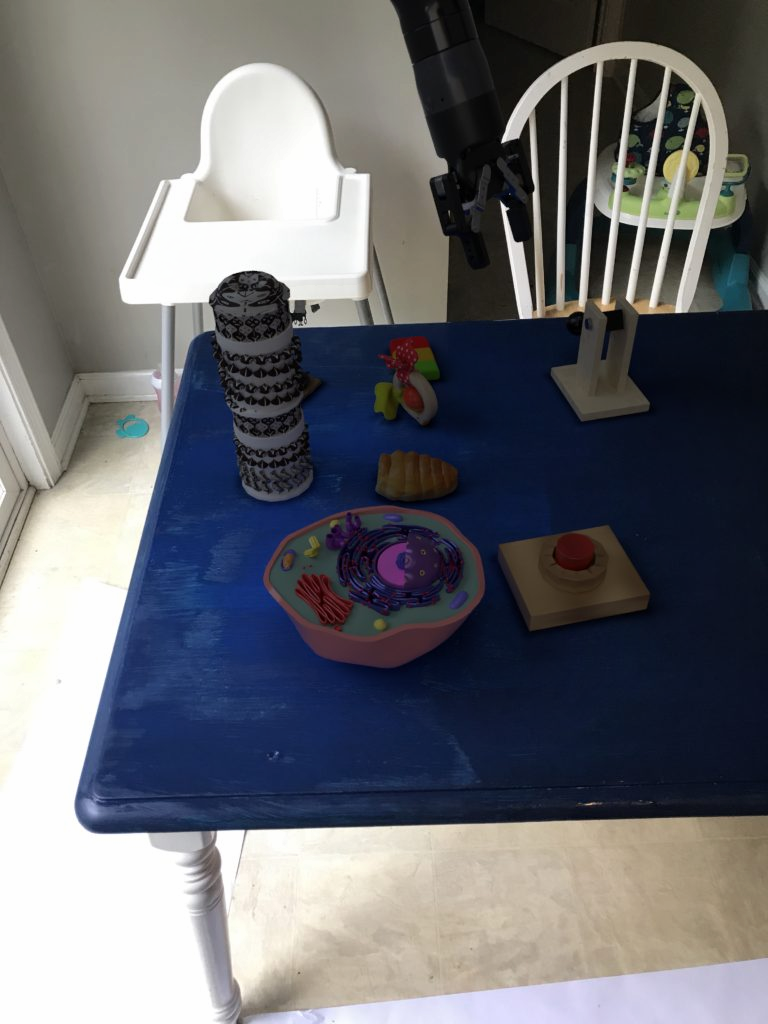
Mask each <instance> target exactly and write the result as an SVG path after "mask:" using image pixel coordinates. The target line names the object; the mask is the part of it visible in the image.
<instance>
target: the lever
mask: <svg viewBox="0 0 768 1024" xmlns="http://www.w3.org/2000/svg"><path fill="white" fill-rule="evenodd" d="M602 312H603V313H604V315H605V316H606V317H607V323H606V330H605V333H607V332H611V331H615V330H622V329H624V325H623V311H622V309H619V310H614V309H612V310H604V311H602ZM583 318H584V311H580V310H576V311H574V312H571V313H570V314H569V315H568V316H567V319H566V322H565V328H566V329H567V331H568V333H569V334H570V335H573V336H577V337H579V336H580V337H581V332H582V325H583Z"/></svg>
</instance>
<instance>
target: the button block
mask: <svg viewBox="0 0 768 1024" xmlns="http://www.w3.org/2000/svg"><path fill="white" fill-rule="evenodd" d="M570 533H576V534H581V535H584V536H586V537H588V538H589V539H590V540H591V541H592V542H593V544H594V547H595V550H594V555H593V561H592V564H591V565H590V567H588V568H587V569H585V570H582V571H572V570H567V569H564V568H562V567H561V566H560V565H559V564H558V563H557V561H556V559H555V553H556V547H557V542H558V540H559V539H560V538H561V537H562V536H563V535H566V534H570ZM497 549H498V551H497V561H498V563H499V566H500V568H501V570H502V572H503V575H504V577H505V579H506V582H507V584H508V587H509V589H510V590H511V593H512V595H513V597H514V600H515V602H516V604H517V606H518V610H519V611H520V613H521V615H522V618H523V620H524V622H525V625H526V628H527V629H528V631H529V632H534V631H538V630H545V629H549V628H555V627H561V626H565V625H569V624H575V623H580V622H586V621H591V620H597V619H602V618H607V617H611V616H616V615H617V616H618V615H621V614H626V613H632V612H637V611H643V610H647V608H648V604H649V600H650V597H651V593H650V591H649V590H648V588H647V586H646V584H645V583H644V581H643V579H642V577H641V576H640V574H639V573H638V571H637V569H636V568H635V566H634V564H633V563H632V561H631V559H630V558H629V556H628V555H627V553H626V551H625V550H624V547H623V546H622V544H621V543H620V542H619V539H618V538H617V536H616V535H615V533H614V532H613V530H612V528H611V527H610V525H609V524H606V525H602V526H595V527H590V528H584V529H578V530H572V531H567V532H562V533H557V534H551V535H550V534H549V535H545V536H537V537H534V538H527V539H522V540H516V541H511V542H510V541H509V542H505V543H500V544H499V543H498V548H497Z"/></svg>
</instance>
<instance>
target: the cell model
mask: <svg viewBox="0 0 768 1024" xmlns="http://www.w3.org/2000/svg"><path fill="white" fill-rule="evenodd" d="M262 577H263V578H262V580H263V584H264V587H265V588H266V590H267V592H268V593H269V595H271V597H272V598H273V599H274V600H275V601H276V603H278V605H279V606H280V607H281V608H282V609H283V611H284V612H285V614H286V615H287V617H288V618H289V619H290V621H291V622H292V624H293V625H294V628H295V629H296V630H297V632H298V634H299V636H300V638H301V639H302V641H303V642H304V644H305V645H306V646H308V647H309V648H310V650H312V651H313V653H314V654H316V656H319V657H320V658H323V659H326V660H330V661H333V662H338V663H344V664H351V665H357V666H358V665H359V666H365V667H370V668H371V667H372V668H378V669H393V668H399V667H401V666H404V665H406V664H408V663H411V662H412V661H414V660H415V659H418V658H419V657H422V656H424V655H425V654H428V653H430V652H431V651H433V650H435V649H436V648H438V647H439V646H441V645H442V644H443V643H445V642H446V641H447V640H448V639H449V638H451V636H453V634H455V633H456V632H457V630H458V629H459V628H460V627H461V626H462V625H463V624H464V623H465V622H466V620H467V619H468V618H469V617H470V615H471V614H472V613H473V611H474V610H475V609H476V608H477V606H478V605H479V604H480V603H481V601H482V598H483V597H484V595H485V591H486V579H485V571H484V567H483V562H482V557H481V555H480V552H479V550H478V548H477V547H476V546H475V544H474V543H472V542H471V541H470V540H469V539H468V538H467V537H466V536H465V535H464V534H463V533H462V532H461V531H460V530H459V528H457V526H456V525H455V524H454V523H453V522H452V521H450V520H449V519H447V518H446V517H444V516H442V515H440V514H437V513H434V512H431V511H427V510H420V509H413V508H407V507H401V506H396V505H374V506H367V507H358V508H353V509H350V510H349V509H348V510H344V511H340V512H337V513H334V514H331V515H329V516H326V517H323V518H321V519H319V520H316V521H314V522H312V523H310V524H308V525H306V526H304V527H301V528H299V529H298V530H296V531H294V532H292V533H290V534H288V535H286V536H285V537H284V538H283V539H282V540H281V541H280V543H279V545H278V546H277V547H276V549H275V551H274V552H273V554H272V556H271V558H270V560H269V561H268V563H267V565H266V566H265V568H264V574H263V576H262Z"/></svg>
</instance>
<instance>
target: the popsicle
mask: <svg viewBox="0 0 768 1024" xmlns="http://www.w3.org/2000/svg"><path fill="white" fill-rule="evenodd" d="M409 338H412V339H413V347H412V348H413V349H414V350H415V351H416V352H417V354H418V357H419V359H418V361H417V363H416V364H415V366H414V367H415V368H417V369H418V370H419V372H420V373H421V374H422V375H423V376H424V377H425V378H426V379H427V381H428V382H429V381H437V380H440V374H441V373H440V372H441V371H440V370H439V366H438V363H437V361H436V358H435V355H434V353H433V350H432V348H431V345H430V343H429V339H428V338H426V337H425V336H422V335H417V336H415V335H414V336H406V337H399V338H394V339H392V340H391V341H390V343H389V353H390V356H391V357H392V358H394V359H396V347H397V346H398V345H401V346H402V345H403V344H404V343H405V341H406V340H407V339H409ZM396 371H397V369H395V372H396Z"/></svg>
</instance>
